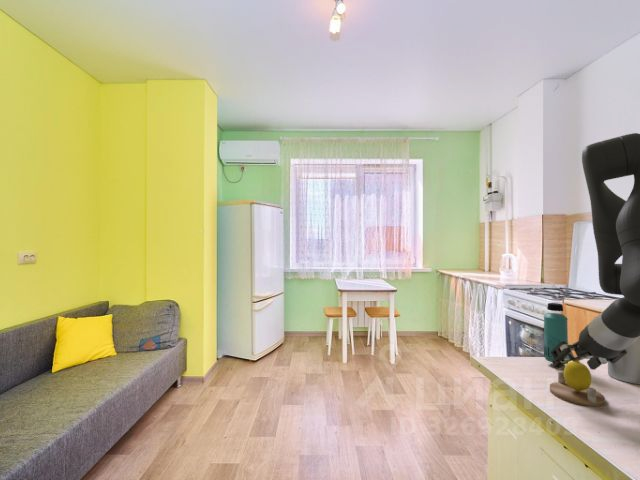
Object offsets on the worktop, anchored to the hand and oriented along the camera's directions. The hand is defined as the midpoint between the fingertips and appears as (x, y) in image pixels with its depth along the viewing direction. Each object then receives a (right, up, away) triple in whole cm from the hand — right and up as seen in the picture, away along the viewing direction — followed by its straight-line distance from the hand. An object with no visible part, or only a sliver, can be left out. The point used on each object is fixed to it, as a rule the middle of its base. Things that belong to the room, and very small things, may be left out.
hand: (572, 365), depth 81 cm
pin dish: (0, -7, -1) cm, 7 cm away
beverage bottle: (+10, -8, +19) cm, 23 cm away
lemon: (0, -6, -1) cm, 7 cm away
